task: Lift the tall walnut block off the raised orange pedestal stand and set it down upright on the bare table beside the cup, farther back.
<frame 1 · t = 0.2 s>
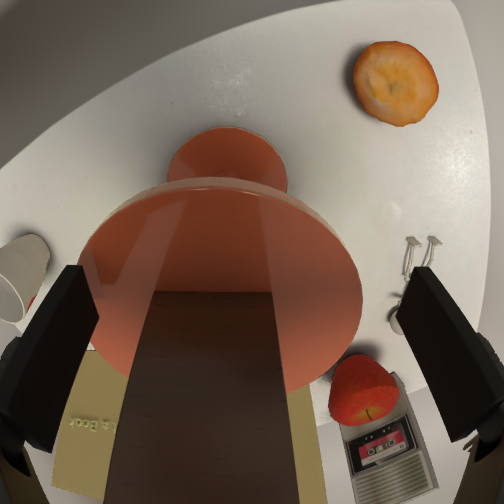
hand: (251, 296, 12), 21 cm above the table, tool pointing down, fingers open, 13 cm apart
figurine: (409, 282, 39), on the table
cup: (36, 249, 34), on the table
walnut block: (214, 332, 14), point 20 cm above the table, touching orange pedestal stand
fruit: (379, 80, 26), on the table
apple: (351, 359, 48), on the table
book: (184, 359, 46), on the table
orange pedestal stand: (226, 183, 31), on the table
cassette tape recorder: (367, 392, 54), on the table
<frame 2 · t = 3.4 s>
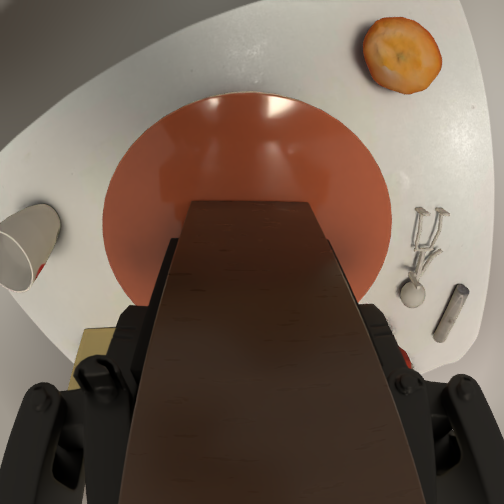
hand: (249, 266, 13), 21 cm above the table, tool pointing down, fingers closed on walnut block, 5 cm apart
figurine: (418, 254, 40), on the table
cup: (46, 220, 34), on the table
walnut block: (248, 250, 14), point 20 cm above the table, touching gripper, orange pedestal stand
fruit: (386, 55, 26), on the table
book: (193, 336, 46), on the table
orange pedestal stand: (242, 148, 31), on the table
rod: (447, 309, 46), on the table
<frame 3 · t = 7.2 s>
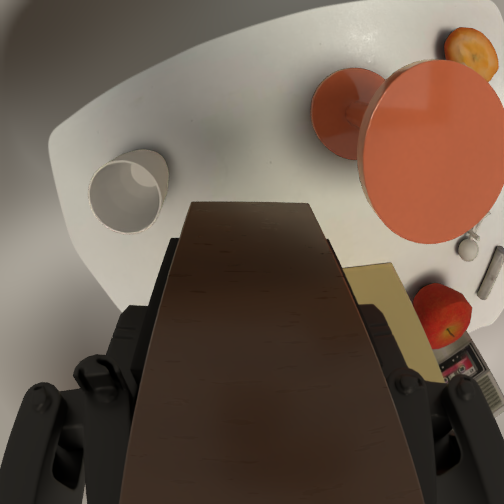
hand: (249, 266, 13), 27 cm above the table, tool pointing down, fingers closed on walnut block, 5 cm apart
figurine: (471, 215, 43), on the table
cup: (148, 168, 38), on the table
walnut block: (248, 251, 14), point 26 cm above the table, touching gripper
fruit: (455, 54, 29), on the table
apple: (424, 291, 51), on the table
book: (283, 291, 49), on the table
orange pedestal stand: (356, 113, 34), on the table
cassette tape recorder: (429, 331, 58), on the table
rod: (488, 269, 50), on the table
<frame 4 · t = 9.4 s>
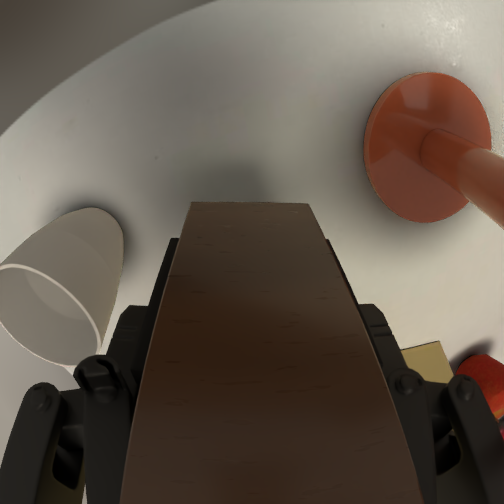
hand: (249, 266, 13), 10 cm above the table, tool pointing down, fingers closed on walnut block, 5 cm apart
cup: (96, 234, 23), on the table
walnut block: (248, 252, 14), point 8 cm above the table, touching gripper
apple: (466, 360, 37), on the table
book: (300, 382, 35), on the table
orange pedestal stand: (432, 148, 20), on the table
when the fingers open (1 cm above the table, at t = 11.1 s): walnut block stays where it is, on the table.
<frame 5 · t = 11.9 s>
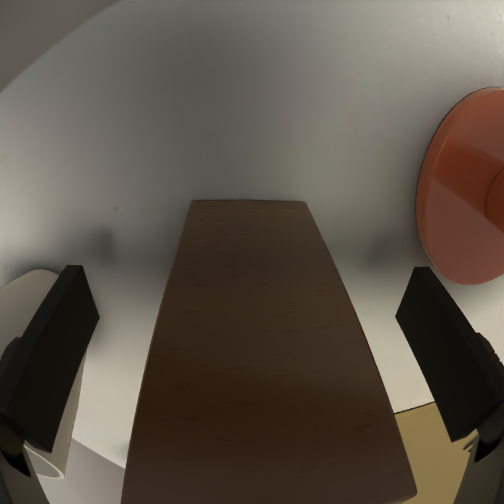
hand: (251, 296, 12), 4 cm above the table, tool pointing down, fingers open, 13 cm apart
cup: (54, 299, 16), on the table
walnut block: (247, 249, 15), on the table
book: (308, 441, 28), on the table
orange pedestal stand: (495, 190, 13), on the table
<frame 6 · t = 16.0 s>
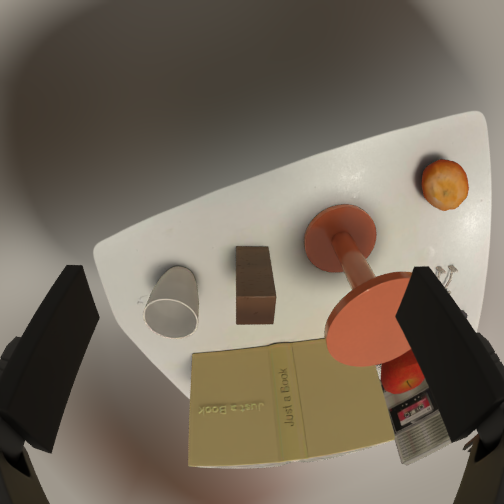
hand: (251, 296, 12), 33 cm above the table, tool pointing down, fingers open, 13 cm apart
figurine: (435, 294, 57), on the table
cup: (179, 277, 52), on the table
walnut block: (251, 259, 50), on the table
fruit: (433, 175, 43), on the table
apple: (393, 347, 65), on the table
book: (281, 353, 63), on the table
orange pedestal stand: (340, 238, 49), on the table
cassette tape recorder: (400, 373, 72), on the table
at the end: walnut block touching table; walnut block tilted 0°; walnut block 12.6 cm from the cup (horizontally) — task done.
